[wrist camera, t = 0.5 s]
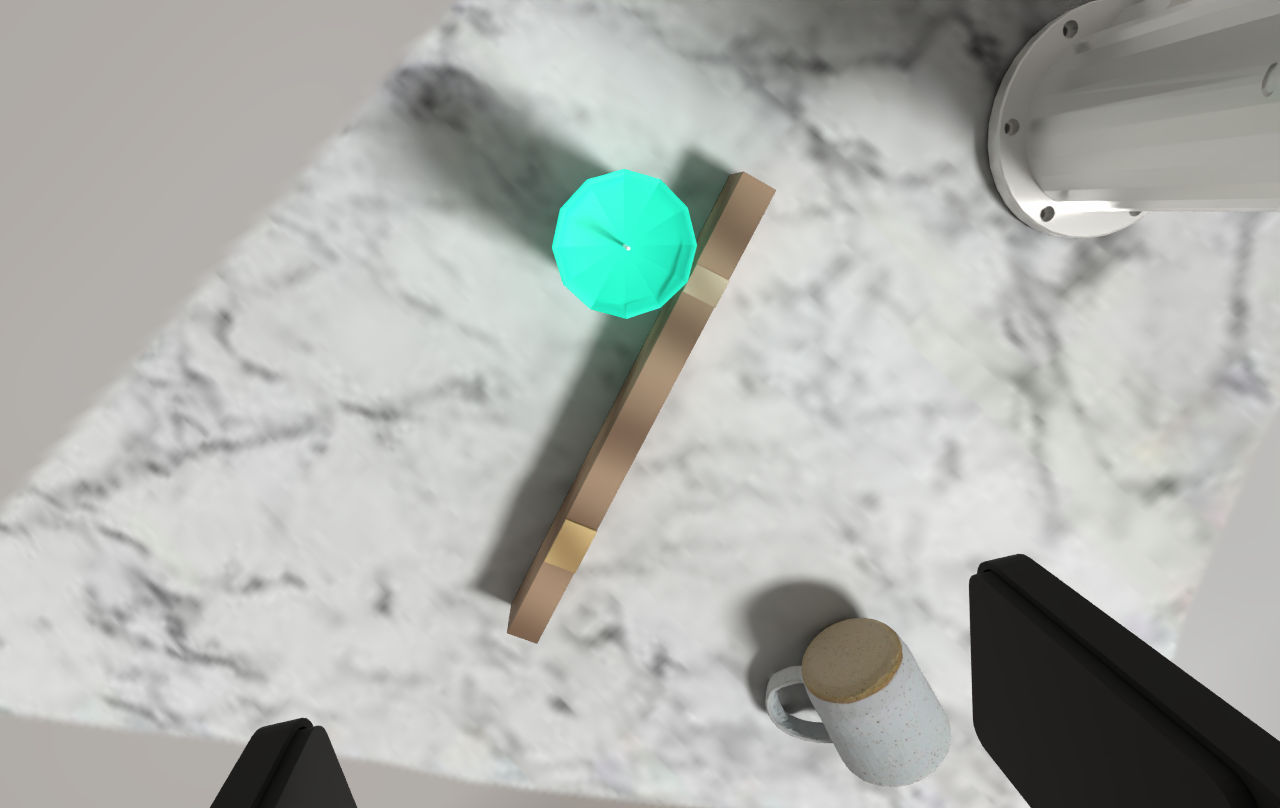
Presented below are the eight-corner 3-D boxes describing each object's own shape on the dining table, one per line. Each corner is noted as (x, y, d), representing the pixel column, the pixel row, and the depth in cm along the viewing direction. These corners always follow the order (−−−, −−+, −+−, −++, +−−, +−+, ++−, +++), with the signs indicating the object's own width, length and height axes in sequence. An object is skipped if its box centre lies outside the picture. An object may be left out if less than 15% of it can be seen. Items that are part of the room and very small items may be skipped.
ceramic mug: (871, 592, 45) (926, 666, 38) (916, 672, 48) (976, 757, 40) (739, 664, 46) (769, 751, 39) (790, 740, 49) (827, 835, 41)
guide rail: (730, 174, 36) (744, 171, 33) (760, 191, 37) (777, 189, 34) (511, 604, 43) (506, 635, 40) (539, 614, 43) (536, 645, 40)
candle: (536, 216, 36) (519, 220, 24) (628, 158, 36) (656, 134, 24) (593, 309, 38) (603, 352, 26) (682, 254, 37) (731, 275, 26)
